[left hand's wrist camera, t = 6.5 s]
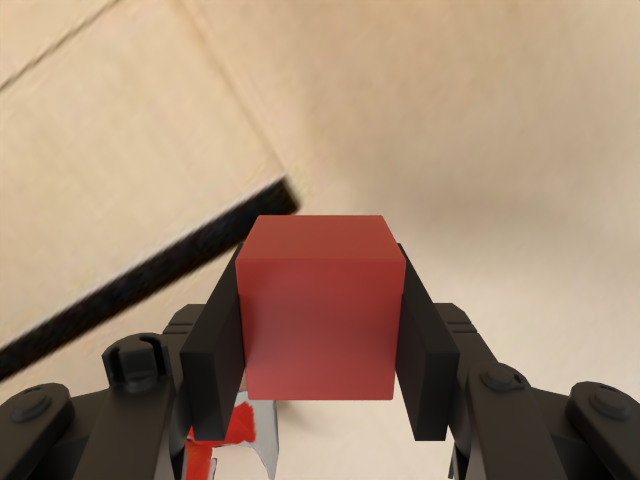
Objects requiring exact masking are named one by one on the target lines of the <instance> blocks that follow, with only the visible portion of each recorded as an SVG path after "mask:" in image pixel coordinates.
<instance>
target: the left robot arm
mask: <svg viewBox="0 0 640 480" xmlns="http://www.w3.org/2000/svg"><path fill="white" fill-rule="evenodd" d="M397 244H398V246H399V248H400V250H401V252H402V254H403V256H404V257H405V259H406V268H405V279H404V289H403V294H402V301H401V312H400V322H399V333H398V343H397V354H396V364H395V370H396V374H397V377H398V381H399V385H400V388H401V392H402V395H403V399H404V403H405V406H406V410H407V413H408V417H409V421H410V424H411V428H412V431H413V435H414V439H415V441H445V439H446V433H447V428H448V425H449V428H450V430H451V433H452V435H453V438H454V440H455V442H454V447H453V452H452V458H451V463H450V468H449V475H448V478H450V479H453V476H454V479H455V480H640V404H639V403H638V402H637V401H635V400H634V399H633V398H632V397H630V396H629V395H627V394H625V393H623V392H622V391H620V390H618V389H616V388H614V387H611V386H608V385H605V384H602V383H597V382H589V381H586V382H579V383H577V384H575V385H574V386H573V387H572V389H571V392H570V395H569V396H566V395H562V394H557V393H553V392H548V391H544V390H540V389H537V388H533V387H531V385H530V384H529V382H528V381H527V379H526V378H525V377H524V376H523V375H522V374H521V373H519V372H518V371H517V370H516V369H514V368H512V367H510V366H508V365H506V364H503V363H499V362H498V361H497V359H496V358H495V356H494V355H493V353H492V352H491V350H490V349H489V348H488V346H487V345H486V343H485V342H484V340H483V339H482V337H481V336H480V334H479V333H477V330H476V328H475V327H474V325H473V324H471V321H470V319H469V318H468V316H467V315H466V313H465V312H464V311H462V310H461V309H460V308H458V307H457V306H455V305H454V304H453V303H433V302H432V300H431V298H430V296H429V295H428V293H427V291H426V289H425V287H424V286H423V284H422V282H421V280H420V278H419V276H418V275H417V273H416V271H415V269H414V267H413V266H412V264H411V262H410V260H409V258H408V257H407V255H406V253H405V251H404V249H403V247H402V246H401V244H400V243H397ZM243 245H244V243H239V245H238V247H237V249H236V251H235V252H234V254H233V256H232V258H231V260H230V261H229V263H228V265H227V267H226V269H225V270H224V272H223V274H222V276H221V278H220V280H219V281H218V283H217V285H216V287H215V289H214V290H213V292H212V294H211V296H210V298H209V299H208V301H207V303H206V304H187V305H186V306H185V307H183V308H182V309H180V310H179V311H178V312H176V313H175V314H174V316H173V317H172V319H171V320H170V322H169V323H168V326H166V328H165V329H164V331H163V334H161V335H160V334H156V333H139V334H134V335H130V336H127V337H125V338H123V339H120V340H118V341H116V342H115V343H114V344H112V345H111V346H109V347H108V348H107V349H106V350H105V352H104V353H103V354H102V355H101V356H102V359H103V363H104V367H105V370H106V374H107V378H108V381H109V385H110V386H109V388H108V389H105V390H102V391H98V392H94V393H89V394H85V395H81V396H76V397H72V398H71V396H70V393H69V390H68V389H67V388H66V387H65V386H64V385H63V384H57V383H48V384H40V385H37V386H34V387H31V388H28V389H26V390H24V391H22V392H20V393H18V394H16V395H14V396H12V397H11V398H10V399H8V400H7V401H6V402H4V403H3V404H2V405H1V406H0V480H186V470H187V460H188V454H187V447H186V442H185V441H186V439H187V436H188V434H189V431H190V429H191V426H192V429H193V435H194V441H225V438H226V434H227V430H228V427H229V423H230V420H231V416H232V412H233V409H234V405H235V402H236V398H237V394H238V391H239V387H240V383H241V380H242V376H243V373H244V369H245V360H244V349H243V339H242V328H241V317H240V306H239V296H238V285H237V274H236V263H235V261H236V258H237V256H238V254H239V253H240V251H241V249H242V247H243Z"/></svg>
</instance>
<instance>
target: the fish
mask: <svg viewBox="0 0 640 480" xmlns="http://www.w3.org/2000/svg"><path fill="white" fill-rule="evenodd" d="M185 442H186V447H187V454H188V460H187V470H186V480H213V479H214V474H215V469H216V464H217V459H216V458H212V459H211V456H212V447H215V448H216V447H222V446H228V445H234V444H236V445H240V446H245V447H252V448H254V449H255V451H256V452H257V453H258V455H259V457H260V458H261V460H262V462H263V464H264V466H265V467H266V470H267V472H268V476H269V479H270V480H274V479H275V472H276V466H277V459H278V453H279V442H278V424H277V410H276V402H275V400H249V399H248V392H247V391H242V392H238V394H237V398H236V402H235V405H234V409H233V412H232V416H231V420H230V423H229V427H228V430H227V434H226V438H225V441H194V435H193V429H192V426H191V429H190V431H189V434H188V436H187V439H186V441H185Z"/></svg>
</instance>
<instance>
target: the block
mask: <svg viewBox="0 0 640 480" xmlns="http://www.w3.org/2000/svg"><path fill="white" fill-rule="evenodd" d="M235 263H236V274H237V285H238V296H239V306H240V317H241V328H242V339H243V349H244V360H245V371H246V382H247V392H248V399H249V400H392V399H393V393H394V382H395V372H396V370H395V364H396V354H397V343H398V333H399V322H400V312H401V301H402V294H403V289H404V279H405V268H406V259H405V257H404V256H403V254H402V252H401V250H400V248H399V246H398V244H397V243H396V241H395V239H394V237H393V235H392V233H391V231H390V230H389V228H388V226H387V224H386V222H385V220H384V218H383V216H381V215H260V216H258V218H257V220H256V222H255V224H254V226H253V228H252V230H251V232H250V233H249V235H248V237H247V239H246V241H245V243H244V245H243V247H242V249H241V251H240V253H239V254H238V256H237V258H236V261H235Z"/></svg>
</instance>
